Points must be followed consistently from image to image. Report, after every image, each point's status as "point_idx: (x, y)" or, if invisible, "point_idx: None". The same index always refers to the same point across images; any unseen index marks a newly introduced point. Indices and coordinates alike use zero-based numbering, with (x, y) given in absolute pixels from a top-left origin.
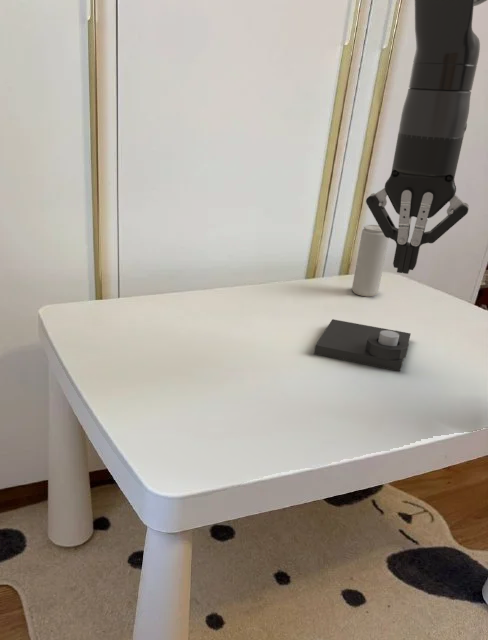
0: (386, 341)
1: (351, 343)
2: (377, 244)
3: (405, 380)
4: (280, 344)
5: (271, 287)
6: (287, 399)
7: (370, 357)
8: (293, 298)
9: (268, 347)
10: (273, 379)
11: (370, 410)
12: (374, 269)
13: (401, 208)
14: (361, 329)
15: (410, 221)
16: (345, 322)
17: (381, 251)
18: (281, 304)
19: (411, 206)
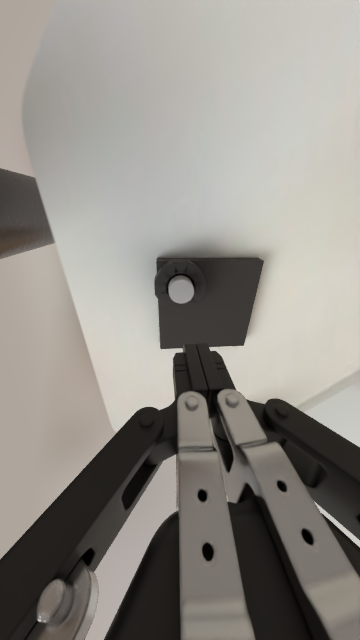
0: (182, 277)
1: (220, 288)
2: (223, 474)
3: (146, 233)
4: (296, 267)
5: (296, 398)
6: (301, 49)
7: (195, 260)
8: (276, 386)
9: (312, 250)
10: (316, 134)
11: (174, 79)
12: (214, 444)
13: (329, 539)
14: (211, 333)
15: (230, 483)
16: (229, 343)
17: None
18: (288, 368)
19: (281, 573)
